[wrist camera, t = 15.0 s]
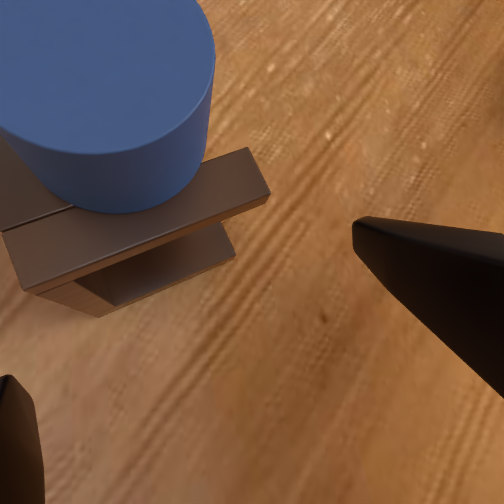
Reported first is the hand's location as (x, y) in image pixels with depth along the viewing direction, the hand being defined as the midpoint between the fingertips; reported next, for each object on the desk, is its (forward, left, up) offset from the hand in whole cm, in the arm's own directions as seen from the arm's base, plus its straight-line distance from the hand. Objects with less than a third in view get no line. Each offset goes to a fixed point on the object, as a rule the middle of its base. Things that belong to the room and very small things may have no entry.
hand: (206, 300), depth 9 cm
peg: (+4, -5, -8) cm, 11 cm away
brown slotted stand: (+4, -5, -13) cm, 15 cm away
